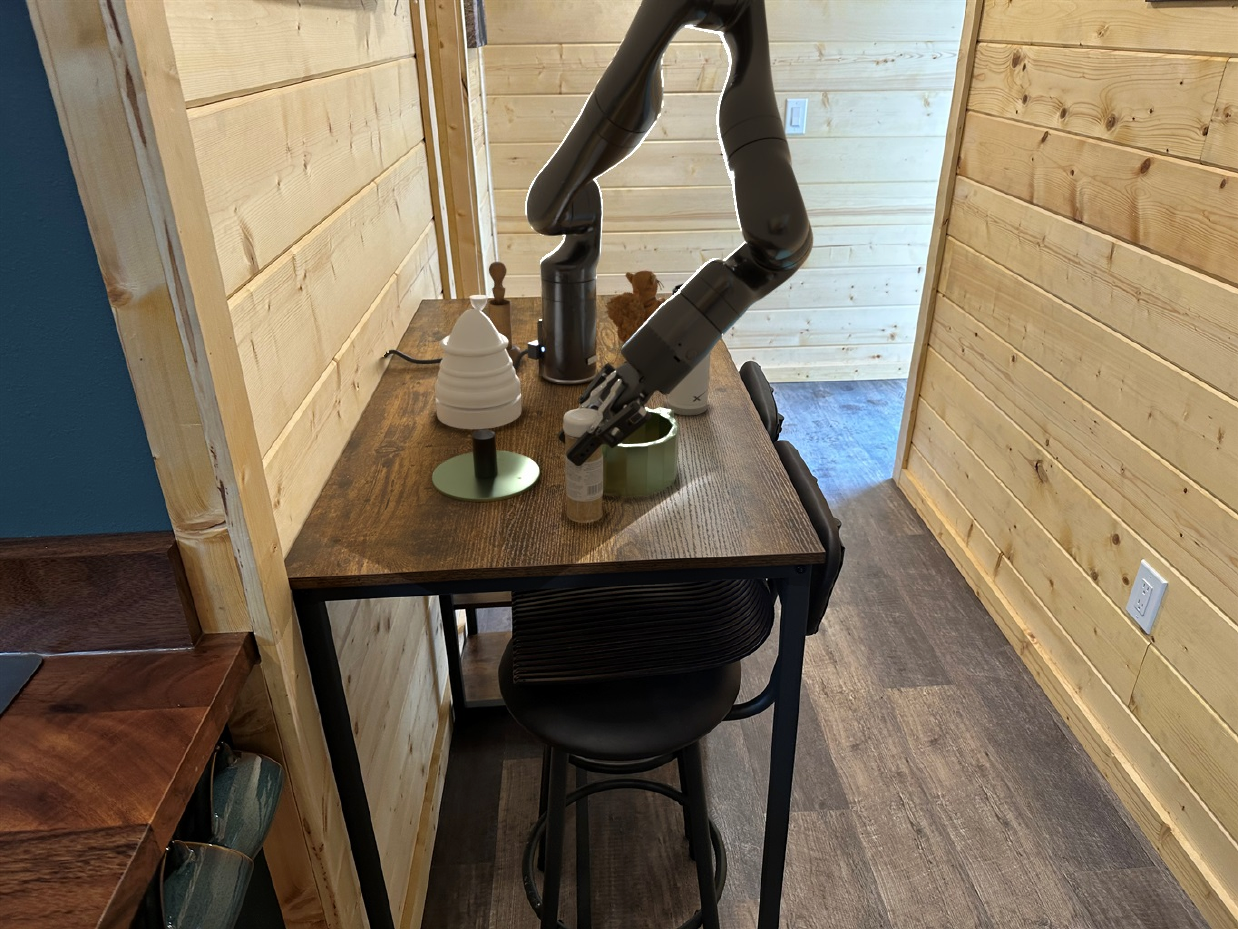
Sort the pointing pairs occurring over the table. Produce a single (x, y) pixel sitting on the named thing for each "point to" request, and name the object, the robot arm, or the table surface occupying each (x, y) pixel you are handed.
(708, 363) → the travel mug
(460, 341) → the honey pot
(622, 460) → the pot
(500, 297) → the mortar and pestle
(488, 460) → the lid
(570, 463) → the sprinkles bottle
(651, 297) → the stuffed squirrel
